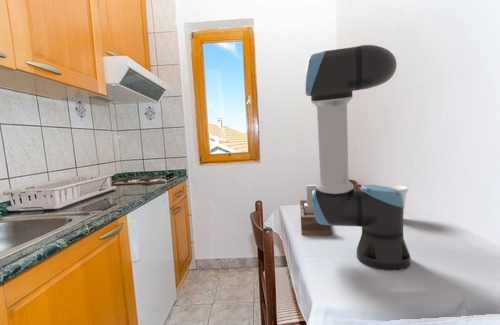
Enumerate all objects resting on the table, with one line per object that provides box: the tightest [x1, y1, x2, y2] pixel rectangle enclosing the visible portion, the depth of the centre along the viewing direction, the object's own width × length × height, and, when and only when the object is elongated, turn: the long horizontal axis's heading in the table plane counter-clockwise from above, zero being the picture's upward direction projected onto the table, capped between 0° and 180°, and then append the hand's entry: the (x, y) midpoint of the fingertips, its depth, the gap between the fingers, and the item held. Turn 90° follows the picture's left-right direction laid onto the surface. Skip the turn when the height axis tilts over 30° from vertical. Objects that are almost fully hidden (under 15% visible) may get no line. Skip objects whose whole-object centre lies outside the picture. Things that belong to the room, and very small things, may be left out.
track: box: [299, 199, 332, 236], centre depth 122 cm, size 36×12×7 cm, turn 169°
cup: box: [380, 184, 409, 216], centre depth 118 cm, size 12×12×15 cm
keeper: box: [304, 184, 317, 213], centre depth 133 cm, size 6×8×14 cm
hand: (334, 152), depth 121 cm, fingers open, 13 cm apart
